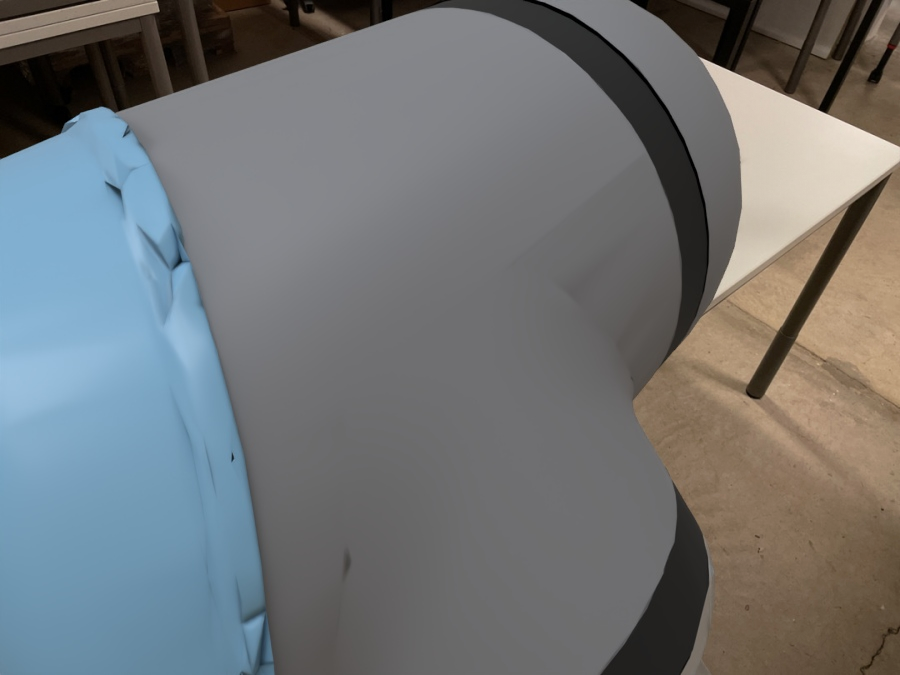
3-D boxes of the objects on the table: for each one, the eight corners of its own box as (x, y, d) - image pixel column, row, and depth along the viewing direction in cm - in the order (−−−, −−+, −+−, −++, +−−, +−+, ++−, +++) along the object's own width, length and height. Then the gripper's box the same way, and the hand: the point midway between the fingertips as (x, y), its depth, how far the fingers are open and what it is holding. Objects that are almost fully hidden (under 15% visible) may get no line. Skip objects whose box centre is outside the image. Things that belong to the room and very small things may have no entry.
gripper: (172, 349, 61) (398, 274, 70) (216, 453, 53) (463, 353, 63) (151, 288, 55) (399, 216, 65) (196, 393, 48) (469, 295, 57)
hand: (430, 283), depth 64 cm, fingers closed
